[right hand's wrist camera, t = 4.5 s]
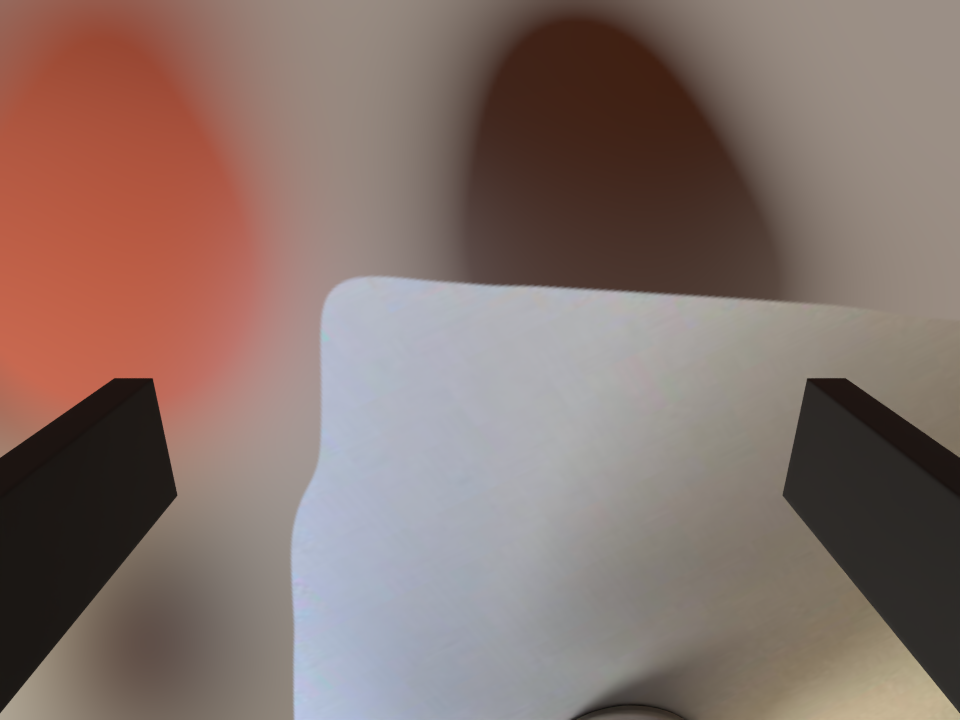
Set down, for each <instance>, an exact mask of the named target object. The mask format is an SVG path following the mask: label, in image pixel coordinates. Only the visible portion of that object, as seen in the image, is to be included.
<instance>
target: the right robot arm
mask: <svg viewBox="0 0 960 720" xmlns="http://www.w3.org/2000/svg"><path fill="white" fill-rule="evenodd" d="M176 496H177V491H176V487H175V482H174V477H173V472H172V468H171V463H170V458H169V454H168V449H167V444H166V439H165V435H164V430H163V425H162V420H161V416H160V411H159V406H158V401H157V397H156V392H155V387H154V383H153V379H152V378H114V379H113V380H111V381H110V382H109V383H107V384H106V385H104V386H103V387H101V388H100V389H98V390H97V391H96V392H94V393H93V394H91V395H90V396H88V397H87V398H86V399H84V400H83V401H81V402H80V403H78V404H77V405H75V406H74V407H73V408H71V409H70V410H68V411H67V412H65V413H64V414H63V415H61V416H60V417H58V418H57V419H55V420H54V421H53V422H51V423H50V424H48V425H47V426H45V427H44V428H42V429H41V430H40V431H38V432H37V433H35V434H34V435H32V436H31V437H30V438H28V439H27V440H25V441H24V442H22V443H21V444H19V445H18V446H17V447H15V448H14V449H12V450H11V451H9V452H8V453H7V454H5V455H4V456H2V457H1V458H0V713H1V712H2V710H3V709H4V708H5V707H6V705H7V704H8V703H9V702H10V701H11V699H12V698H13V697H14V696H15V694H16V693H17V692H18V691H19V689H20V688H21V687H22V686H23V685H24V683H25V682H26V681H27V680H28V678H29V677H30V676H31V675H32V673H33V672H34V671H35V670H36V669H37V667H38V666H39V665H40V664H41V662H42V661H43V660H44V659H45V657H46V656H47V655H48V654H49V653H50V651H51V650H52V649H53V648H54V646H55V645H56V644H57V643H58V641H59V640H60V639H61V638H62V637H63V635H64V634H65V633H66V632H67V630H68V629H69V628H70V627H71V626H72V624H73V623H74V622H75V621H76V619H77V618H78V617H79V616H80V615H81V613H82V612H83V611H84V610H85V608H86V607H87V606H88V605H89V603H90V602H91V601H92V600H93V599H94V597H95V596H96V595H97V594H98V592H99V591H100V590H101V589H102V587H103V586H104V585H105V584H106V583H107V581H108V580H109V579H110V578H111V576H112V575H113V574H114V573H115V572H116V570H117V569H118V568H119V567H120V565H121V564H122V563H123V562H124V560H125V559H126V558H127V557H128V556H129V554H130V553H131V552H132V551H133V549H134V548H135V547H136V546H137V544H138V543H139V542H140V541H141V540H142V538H143V537H144V536H145V535H146V533H147V532H148V531H149V530H150V528H151V527H152V526H153V525H154V524H155V522H156V521H157V520H158V519H159V517H160V516H161V515H162V514H163V512H164V511H165V510H166V509H167V508H168V506H169V505H170V504H171V503H172V501H173V500H174V499H175V498H176ZM783 497H784V498H785V499H786V500H787V501H788V503H789V504H790V505H791V506H792V508H793V509H794V510H795V511H796V513H797V514H798V515H799V516H800V517H801V519H802V520H803V521H804V522H805V524H806V525H807V526H808V527H809V529H810V530H811V531H812V532H813V533H814V535H815V536H816V537H817V538H818V540H819V541H820V542H821V543H822V544H823V546H824V547H825V548H826V549H827V551H828V552H829V553H830V554H831V556H832V557H833V558H834V559H835V560H836V562H837V563H838V564H839V565H840V567H841V568H842V569H843V570H844V572H845V573H846V574H847V575H848V576H849V578H850V579H851V580H852V581H853V583H854V584H855V585H856V586H857V587H858V589H859V590H860V591H861V592H862V594H863V595H864V596H865V597H866V599H867V600H868V601H869V602H870V603H871V605H872V606H873V607H874V608H875V610H876V611H877V612H878V613H879V615H880V616H881V617H882V618H883V619H884V621H885V622H886V623H887V624H888V626H889V627H890V628H891V629H892V630H893V632H894V633H895V634H896V635H897V637H898V638H899V639H900V640H901V642H902V643H903V644H904V645H905V646H906V648H907V649H908V650H909V651H910V653H911V654H912V655H913V656H914V658H915V659H916V660H917V661H918V662H919V664H920V665H921V666H922V667H923V669H924V670H925V671H926V672H927V673H928V675H929V676H930V677H931V678H932V680H933V681H934V682H935V683H936V685H937V686H938V687H939V688H940V689H941V691H942V692H943V693H944V694H945V696H946V697H947V698H948V699H949V701H950V702H951V703H952V704H953V705H954V707H955V708H956V709H957V710H958V712H959V713H960V458H959V457H958V456H956V455H955V454H953V453H952V452H951V451H949V450H948V449H946V448H945V447H943V446H942V445H941V444H939V443H938V442H936V441H935V440H933V439H932V438H930V437H929V436H928V435H926V434H925V433H923V432H922V431H920V430H919V429H918V428H916V427H915V426H913V425H912V424H910V423H909V422H907V421H906V420H905V419H903V418H902V417H900V416H899V415H897V414H896V413H895V412H893V411H892V410H890V409H889V408H887V407H886V406H885V405H883V404H882V403H880V402H879V401H877V400H876V399H874V398H873V397H872V396H870V395H869V394H867V393H866V392H864V391H863V390H862V389H860V388H859V387H857V386H856V385H854V384H853V383H851V382H850V381H849V380H847V379H846V378H807V382H806V387H805V392H804V397H803V401H802V406H801V411H800V416H799V420H798V425H797V430H796V435H795V439H794V444H793V449H792V453H791V458H790V463H789V468H788V472H787V477H786V482H785V487H784V491H783ZM576 720H684V719H683V718H681V717H679V716H677V715H675V714H673V713H671V712H668V711H665V710H662V709H658V708H653V707H647V706H617V707H610V708H605V709H601V710H598V711H595V712H592V713H589V714H586V715H584V716H582V717H580V718H578V719H576Z"/></svg>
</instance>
